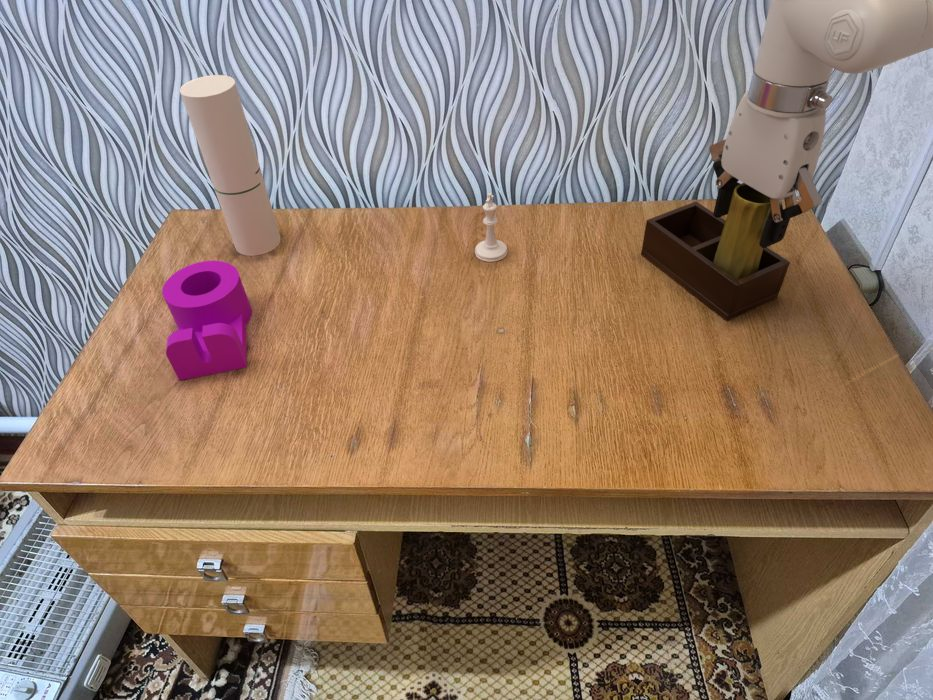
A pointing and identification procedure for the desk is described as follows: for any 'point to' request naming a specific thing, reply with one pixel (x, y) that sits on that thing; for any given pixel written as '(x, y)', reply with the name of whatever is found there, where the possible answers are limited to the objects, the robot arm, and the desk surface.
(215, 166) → the cylindrical container
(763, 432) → the desk surface
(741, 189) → the vase
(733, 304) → the brown compartment box
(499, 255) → the chess piece
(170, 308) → the magenta bearing bracket
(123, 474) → the desk surface
